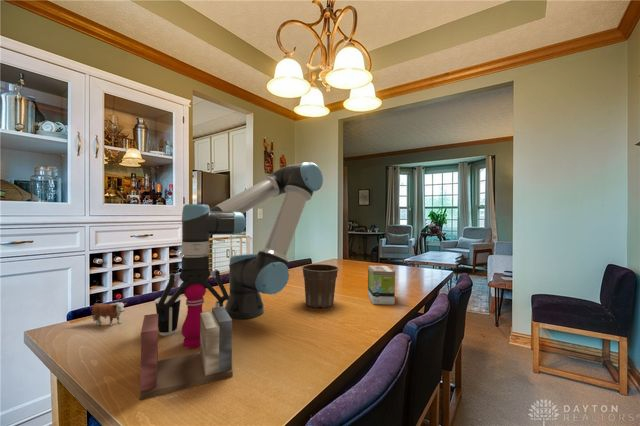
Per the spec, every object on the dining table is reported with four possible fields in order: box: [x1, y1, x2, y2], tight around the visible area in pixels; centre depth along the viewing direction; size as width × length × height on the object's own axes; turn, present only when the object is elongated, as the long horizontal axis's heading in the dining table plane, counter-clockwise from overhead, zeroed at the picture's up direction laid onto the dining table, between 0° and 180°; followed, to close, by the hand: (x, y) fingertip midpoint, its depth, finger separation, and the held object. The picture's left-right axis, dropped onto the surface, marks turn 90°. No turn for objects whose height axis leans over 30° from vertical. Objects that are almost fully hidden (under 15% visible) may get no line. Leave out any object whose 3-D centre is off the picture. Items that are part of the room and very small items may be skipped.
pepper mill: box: [181, 284, 207, 349], centre depth 87 cm, size 7×7×20 cm
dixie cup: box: [154, 295, 182, 336], centre depth 95 cm, size 8×8×11 cm
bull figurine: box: [91, 301, 128, 327], centre depth 101 cm, size 4×13×8 cm, turn 79°
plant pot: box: [301, 263, 340, 309], centre depth 126 cm, size 16×16×16 cm
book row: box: [139, 305, 234, 401], centre depth 71 cm, size 19×14×14 cm
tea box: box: [367, 265, 396, 305], centre depth 133 cm, size 15×10×15 cm, turn 179°
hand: (194, 327), depth 87 cm, fingers open, 12 cm apart
